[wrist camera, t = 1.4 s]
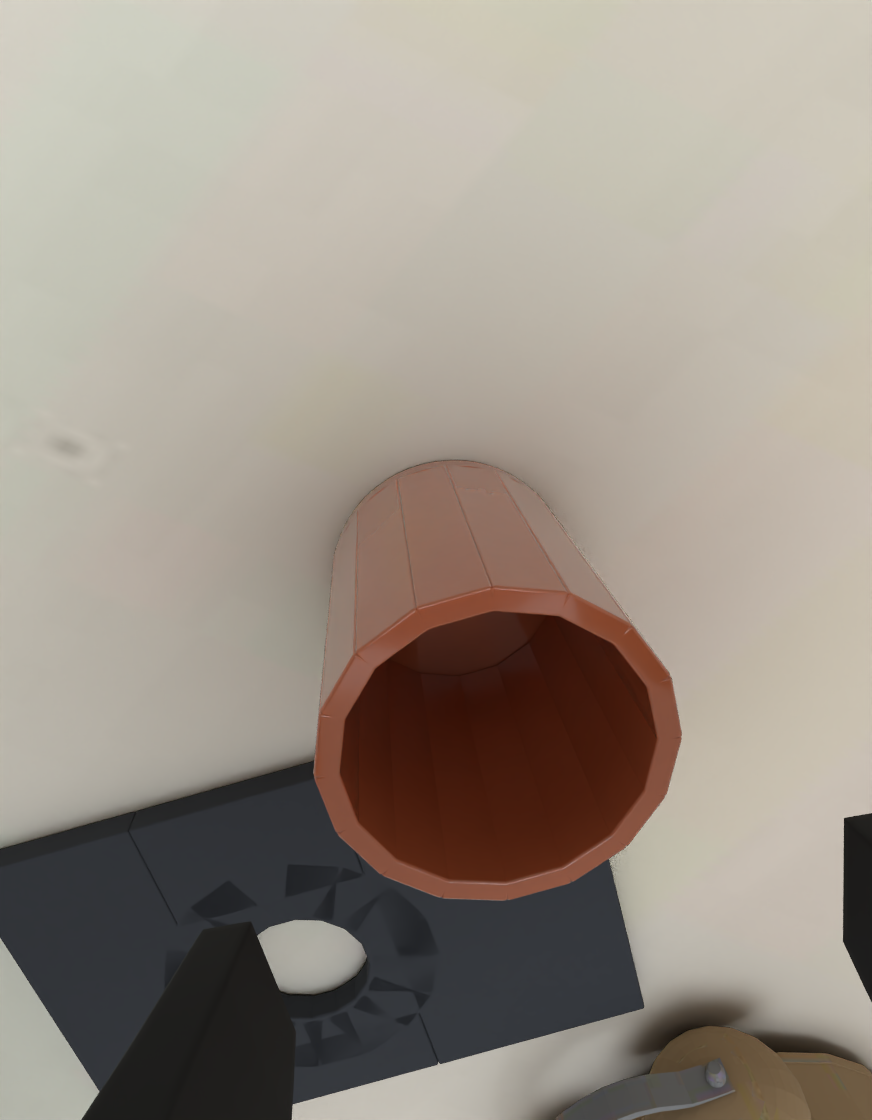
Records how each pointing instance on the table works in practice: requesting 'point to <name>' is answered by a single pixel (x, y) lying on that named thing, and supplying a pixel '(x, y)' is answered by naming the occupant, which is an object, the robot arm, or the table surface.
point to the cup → (483, 692)
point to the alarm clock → (733, 1084)
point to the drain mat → (302, 894)
